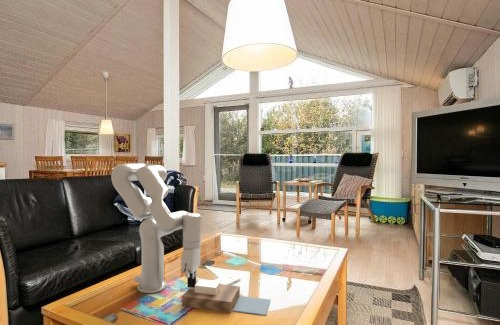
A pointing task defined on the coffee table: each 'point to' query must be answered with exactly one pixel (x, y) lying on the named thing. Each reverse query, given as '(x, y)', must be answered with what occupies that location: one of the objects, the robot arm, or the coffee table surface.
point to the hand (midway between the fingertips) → (191, 286)
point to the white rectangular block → (207, 287)
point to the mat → (252, 305)
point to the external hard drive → (227, 279)
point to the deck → (213, 298)
